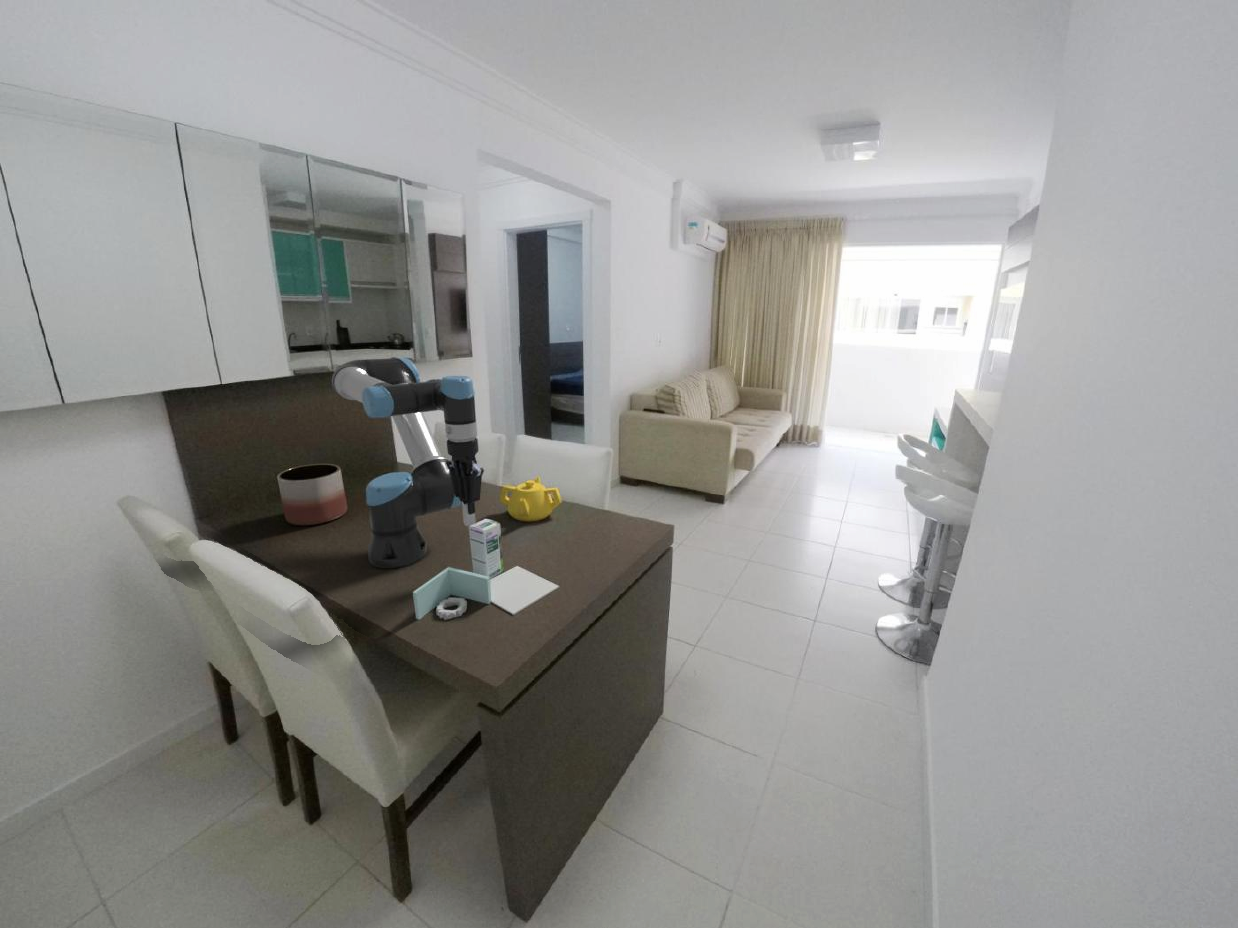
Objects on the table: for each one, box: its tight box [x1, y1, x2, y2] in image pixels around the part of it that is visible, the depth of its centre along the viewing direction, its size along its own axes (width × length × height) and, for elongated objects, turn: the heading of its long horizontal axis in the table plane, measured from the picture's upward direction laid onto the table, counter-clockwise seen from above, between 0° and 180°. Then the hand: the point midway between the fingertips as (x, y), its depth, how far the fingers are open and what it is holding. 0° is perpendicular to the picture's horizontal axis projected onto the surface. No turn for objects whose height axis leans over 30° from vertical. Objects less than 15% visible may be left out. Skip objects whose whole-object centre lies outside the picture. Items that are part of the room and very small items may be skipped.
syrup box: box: [468, 518, 505, 579], centre depth 127 cm, size 6×6×14 cm
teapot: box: [498, 477, 563, 522], centre depth 165 cm, size 17×17×12 cm
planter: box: [276, 463, 348, 526], centre depth 159 cm, size 18×18×16 cm
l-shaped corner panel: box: [412, 566, 492, 621], centre depth 112 cm, size 12×12×8 cm
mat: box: [490, 565, 560, 616], centre depth 122 cm, size 16×15×1 cm
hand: (469, 523), depth 129 cm, fingers closed
